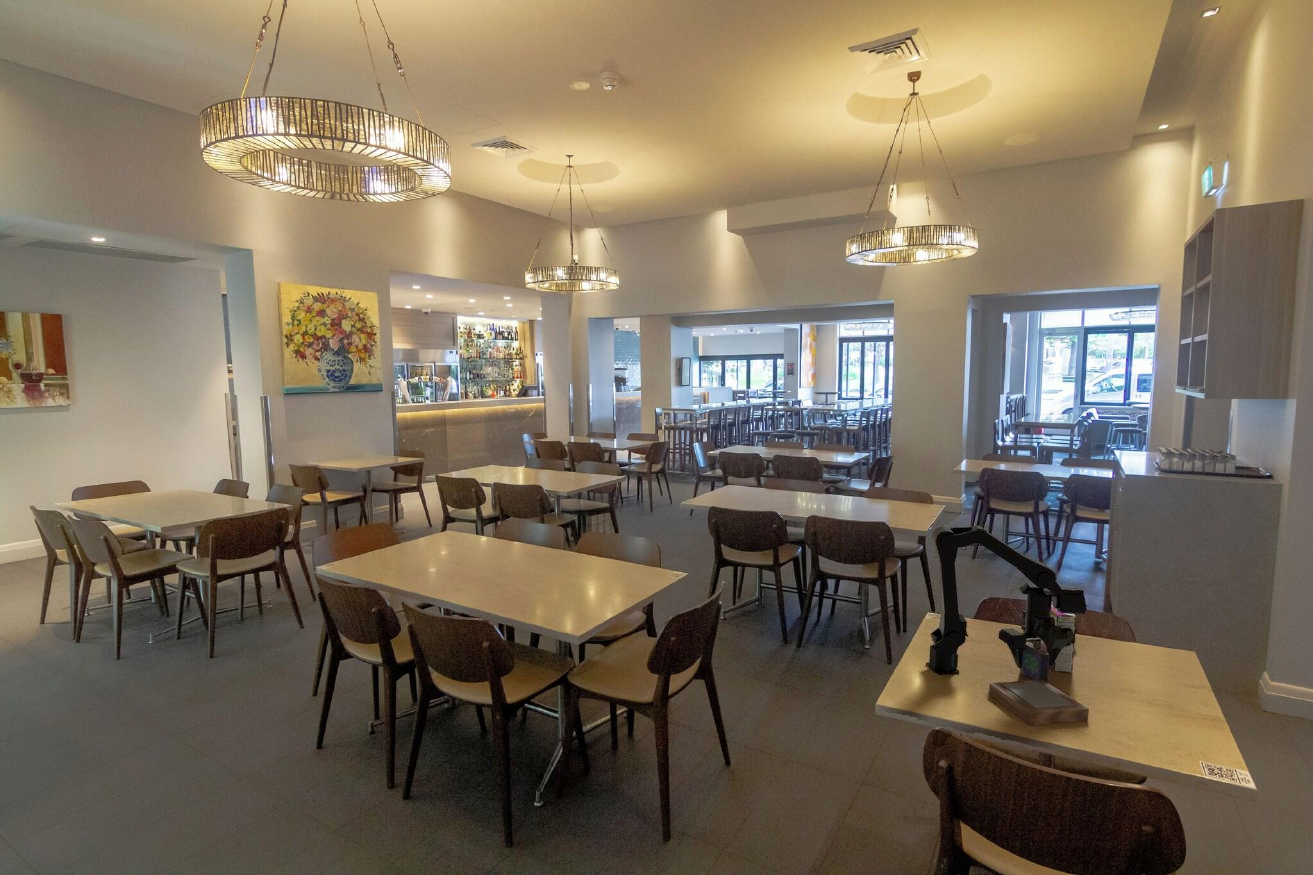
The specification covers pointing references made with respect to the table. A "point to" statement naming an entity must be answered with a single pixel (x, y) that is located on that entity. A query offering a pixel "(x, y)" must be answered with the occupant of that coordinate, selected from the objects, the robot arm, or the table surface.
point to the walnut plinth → (1038, 702)
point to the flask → (1035, 662)
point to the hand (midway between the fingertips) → (1034, 666)
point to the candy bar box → (1066, 654)
